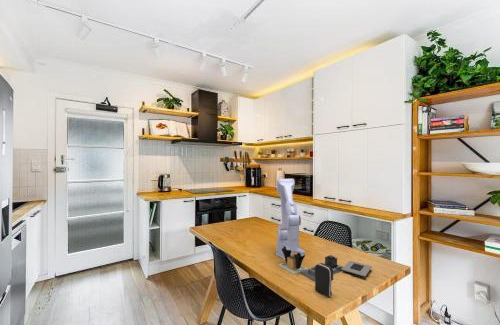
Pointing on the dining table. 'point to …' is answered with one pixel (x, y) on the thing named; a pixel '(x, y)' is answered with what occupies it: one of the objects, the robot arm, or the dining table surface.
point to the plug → (291, 262)
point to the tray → (301, 269)
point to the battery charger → (323, 279)
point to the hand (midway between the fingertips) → (292, 265)
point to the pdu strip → (311, 276)
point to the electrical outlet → (356, 268)
